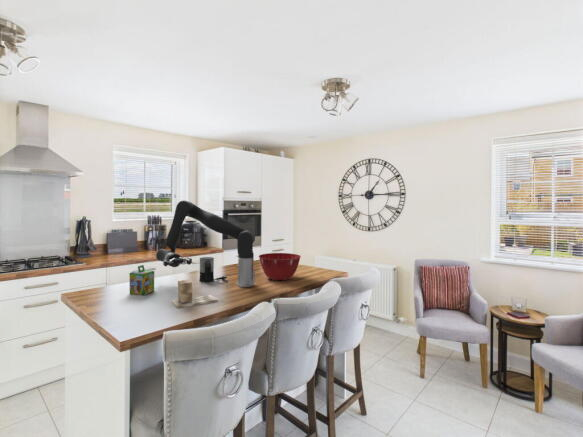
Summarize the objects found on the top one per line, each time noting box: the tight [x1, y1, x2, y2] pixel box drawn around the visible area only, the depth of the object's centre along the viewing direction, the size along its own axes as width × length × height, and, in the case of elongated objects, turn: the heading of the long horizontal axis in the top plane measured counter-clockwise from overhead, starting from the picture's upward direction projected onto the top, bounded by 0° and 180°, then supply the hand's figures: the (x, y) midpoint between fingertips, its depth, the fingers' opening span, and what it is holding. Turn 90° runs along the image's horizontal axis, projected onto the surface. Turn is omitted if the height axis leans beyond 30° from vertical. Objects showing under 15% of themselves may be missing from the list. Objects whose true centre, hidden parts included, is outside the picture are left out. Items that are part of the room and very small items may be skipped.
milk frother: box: [198, 256, 228, 283], centre depth 196 cm, size 14×16×15 cm
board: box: [171, 294, 219, 309], centre depth 154 cm, size 20×9×1 cm, turn 126°
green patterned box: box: [129, 264, 155, 296], centre depth 167 cm, size 9×9×15 cm
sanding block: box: [177, 279, 193, 304], centre depth 150 cm, size 5×6×10 cm
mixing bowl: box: [258, 252, 302, 281], centre depth 208 cm, size 28×28×15 cm
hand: (181, 263), depth 161 cm, fingers open, 8 cm apart
